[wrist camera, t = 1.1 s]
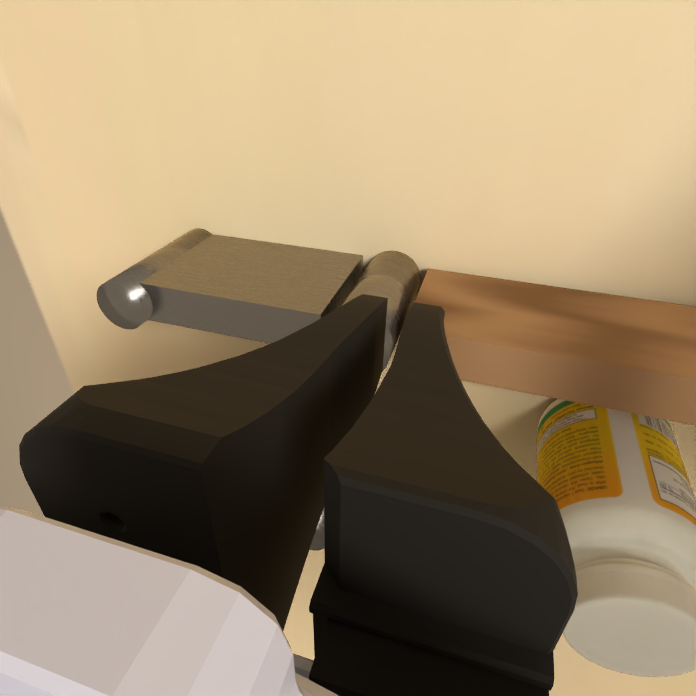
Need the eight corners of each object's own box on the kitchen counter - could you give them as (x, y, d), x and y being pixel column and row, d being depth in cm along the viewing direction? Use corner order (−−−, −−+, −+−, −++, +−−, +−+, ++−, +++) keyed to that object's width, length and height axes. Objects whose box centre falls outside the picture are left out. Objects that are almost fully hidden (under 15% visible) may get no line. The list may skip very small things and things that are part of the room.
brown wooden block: (424, 303, 21) (395, 380, 17) (429, 264, 20) (400, 335, 16) (740, 353, 18) (812, 463, 14) (764, 311, 17) (850, 415, 13)
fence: (423, 254, 20) (391, 326, 15) (417, 305, 22) (386, 385, 17) (180, 221, 23) (89, 273, 18) (189, 269, 24) (105, 328, 19)
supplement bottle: (685, 390, 20) (783, 616, 12) (648, 481, 23) (709, 710, 15) (545, 373, 21) (555, 565, 14) (527, 460, 24) (527, 659, 17)
